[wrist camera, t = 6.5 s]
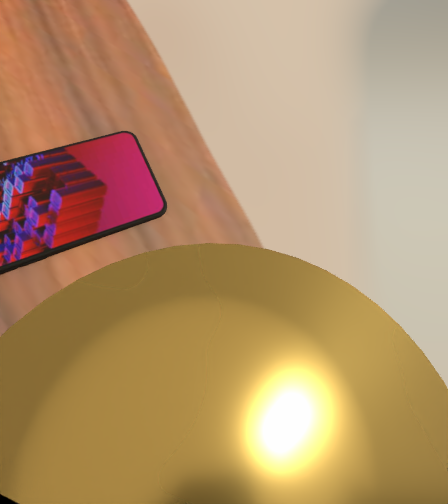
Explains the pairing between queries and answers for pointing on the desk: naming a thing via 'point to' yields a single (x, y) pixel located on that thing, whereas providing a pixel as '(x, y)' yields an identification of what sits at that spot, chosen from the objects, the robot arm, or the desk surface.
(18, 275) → the desk surface
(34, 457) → the gold capped glass jar
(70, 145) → the smartphone
